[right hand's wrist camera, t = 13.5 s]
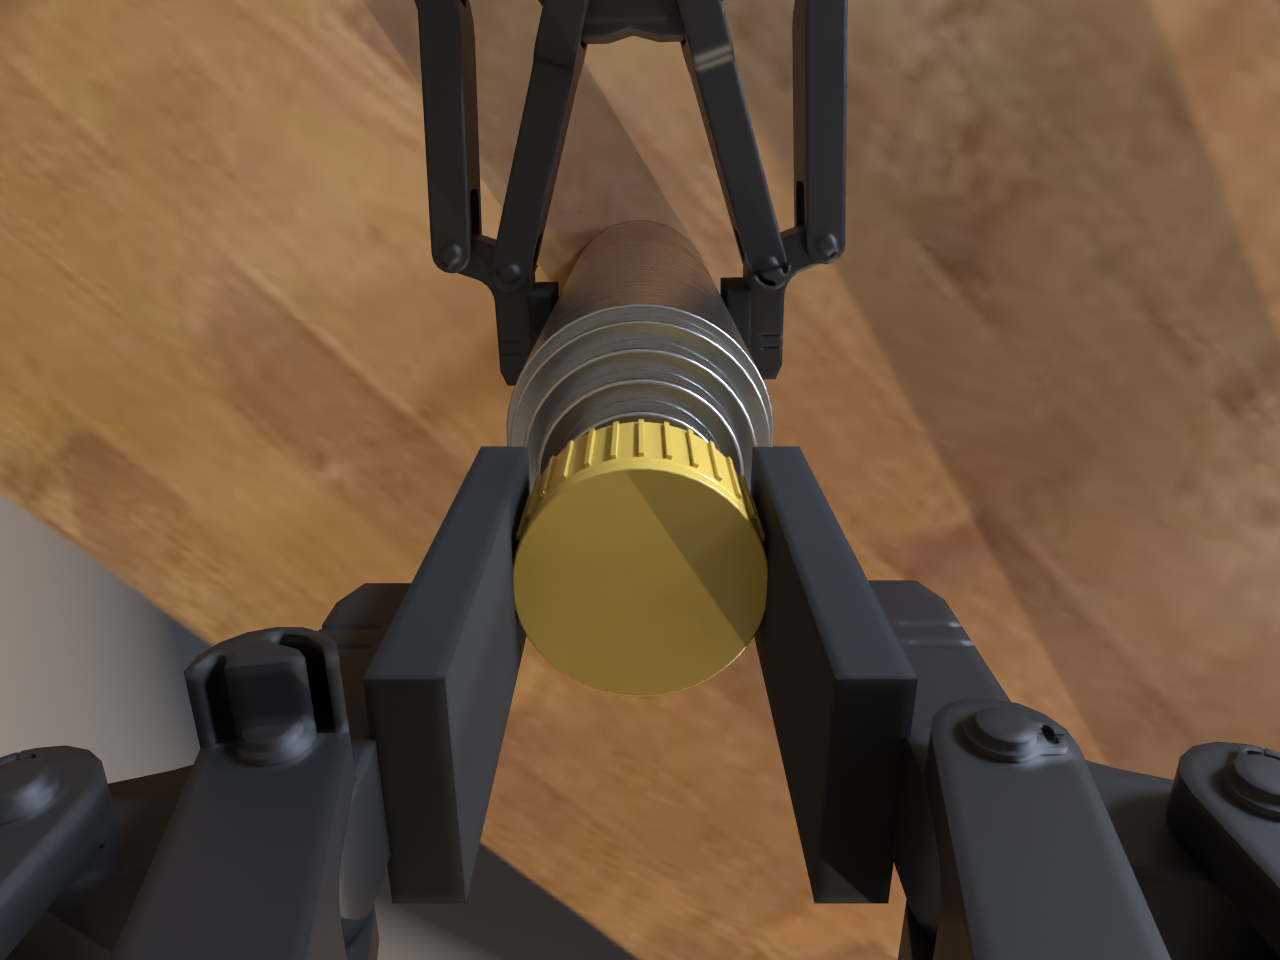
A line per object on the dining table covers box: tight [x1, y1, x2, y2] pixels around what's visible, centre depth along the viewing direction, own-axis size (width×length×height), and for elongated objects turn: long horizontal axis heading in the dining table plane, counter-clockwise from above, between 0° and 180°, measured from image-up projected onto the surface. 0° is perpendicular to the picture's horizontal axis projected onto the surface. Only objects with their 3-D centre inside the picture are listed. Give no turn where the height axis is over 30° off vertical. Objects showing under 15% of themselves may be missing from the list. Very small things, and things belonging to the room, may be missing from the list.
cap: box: [513, 419, 768, 696], centre depth 14 cm, size 4×4×2 cm
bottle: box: [506, 221, 774, 495], centre depth 25 cm, size 6×6×25 cm
